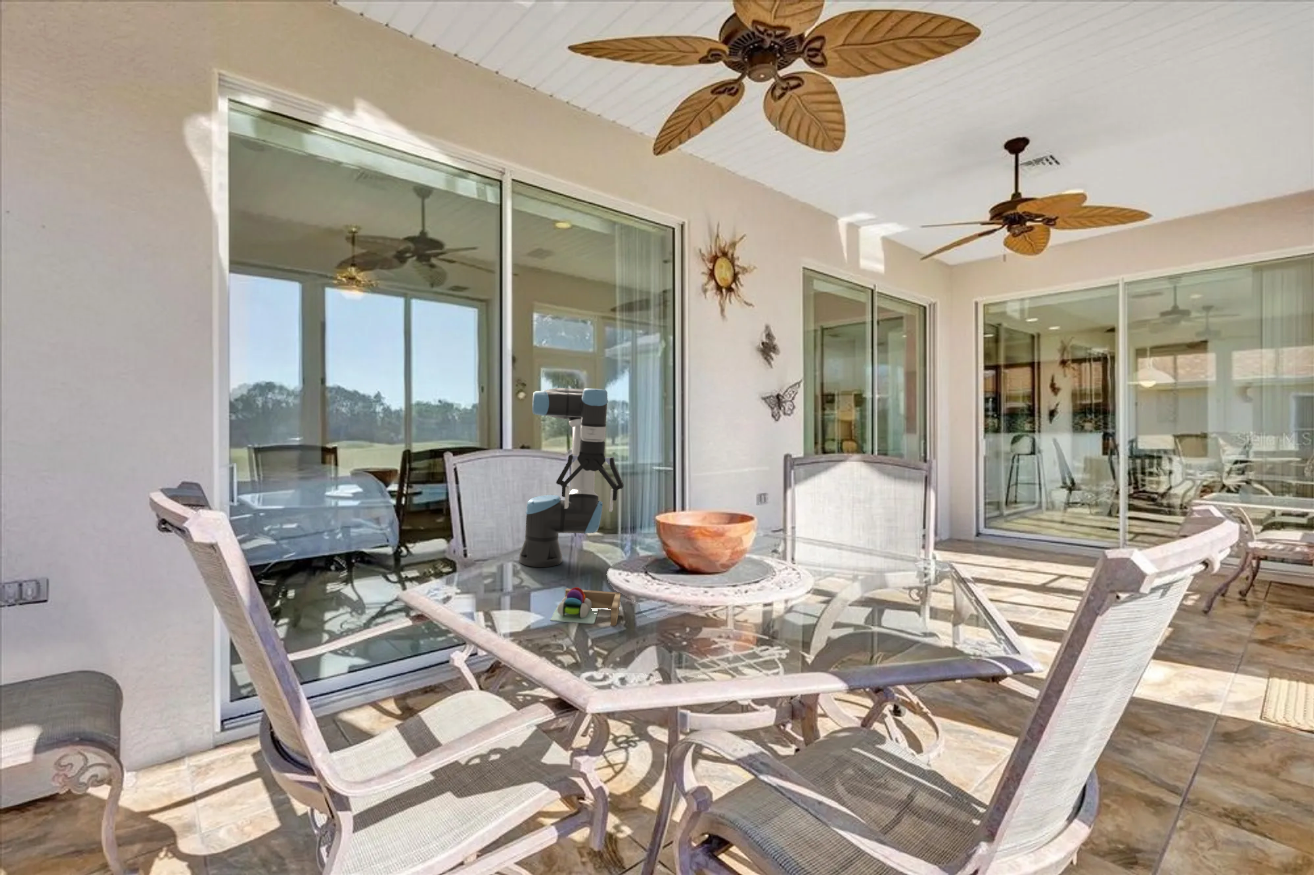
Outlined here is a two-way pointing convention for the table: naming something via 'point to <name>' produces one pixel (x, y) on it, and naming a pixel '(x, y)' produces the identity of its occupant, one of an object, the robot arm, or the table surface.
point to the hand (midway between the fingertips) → (588, 509)
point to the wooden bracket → (604, 601)
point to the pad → (575, 617)
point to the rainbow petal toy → (575, 603)
